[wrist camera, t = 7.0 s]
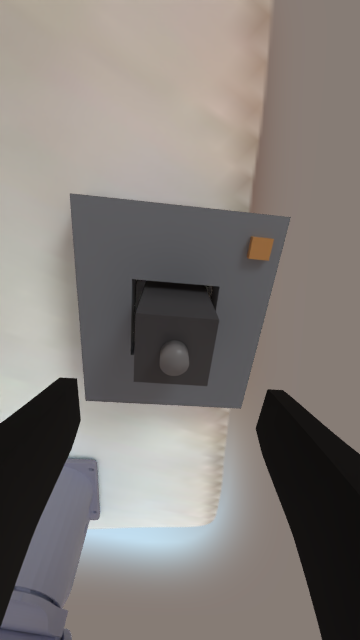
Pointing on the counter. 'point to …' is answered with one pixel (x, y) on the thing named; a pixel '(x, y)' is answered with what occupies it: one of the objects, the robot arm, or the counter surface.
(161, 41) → the counter surface
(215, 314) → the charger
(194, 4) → the counter surface
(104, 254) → the plate
